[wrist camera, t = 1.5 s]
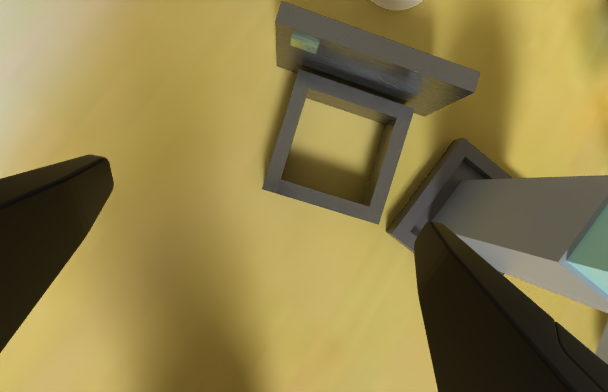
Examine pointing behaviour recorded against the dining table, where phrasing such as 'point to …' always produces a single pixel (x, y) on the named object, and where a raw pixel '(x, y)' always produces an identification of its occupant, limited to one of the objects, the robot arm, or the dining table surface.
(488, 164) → the tray
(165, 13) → the dining table surface
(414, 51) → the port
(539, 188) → the plug
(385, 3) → the white muffin tray
